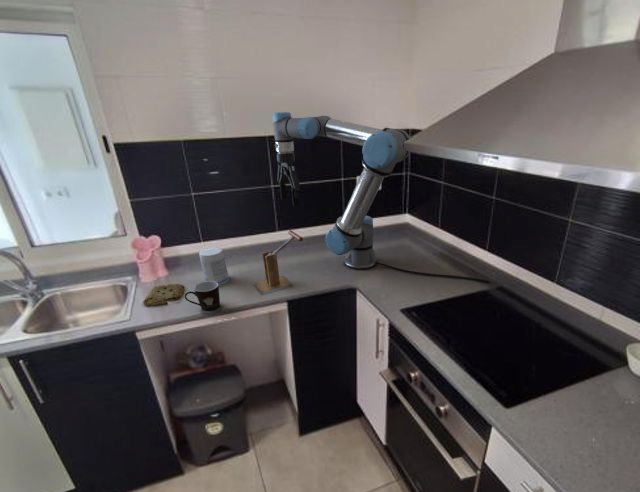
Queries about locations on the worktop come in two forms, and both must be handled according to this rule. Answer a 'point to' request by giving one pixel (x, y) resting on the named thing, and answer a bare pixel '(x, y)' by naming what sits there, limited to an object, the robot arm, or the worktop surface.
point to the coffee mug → (207, 295)
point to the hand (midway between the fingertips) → (289, 201)
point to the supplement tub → (214, 265)
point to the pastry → (164, 294)
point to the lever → (287, 242)
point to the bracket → (271, 274)
